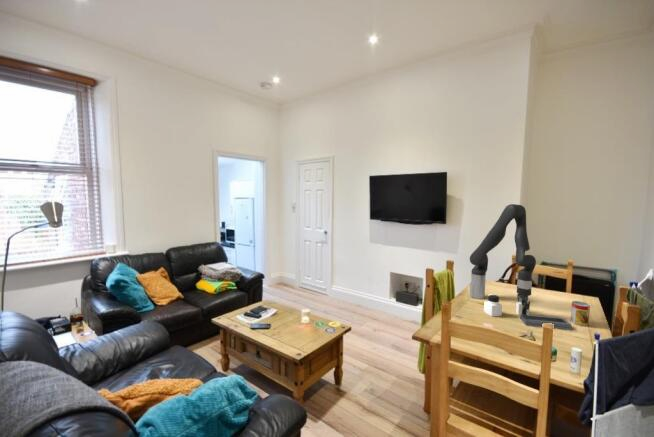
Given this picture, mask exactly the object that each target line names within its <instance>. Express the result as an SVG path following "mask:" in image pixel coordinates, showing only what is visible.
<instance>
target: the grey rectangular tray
mask: <svg viewBox="0 0 654 437" xmlns="http://www.w3.org/2000/svg"><path fill="white" fill-rule="evenodd" d="M519 319H520V321H521V322H522V323H523V324H524V325H525V326H526V327H534V328H535V327H536V328H537V327H538V328H543V327H542V324H543V323H552V324H554V328H553V329H555V330H564V331H565V330H566V331H572V323H571V322H569V321H567V320H566V319H565V318H563V317H558V316H557V317H555V316H545V315H544V316H543V315H533V314H529V315H524V314H520V315H519ZM556 328H557V329H556Z"/></svg>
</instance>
